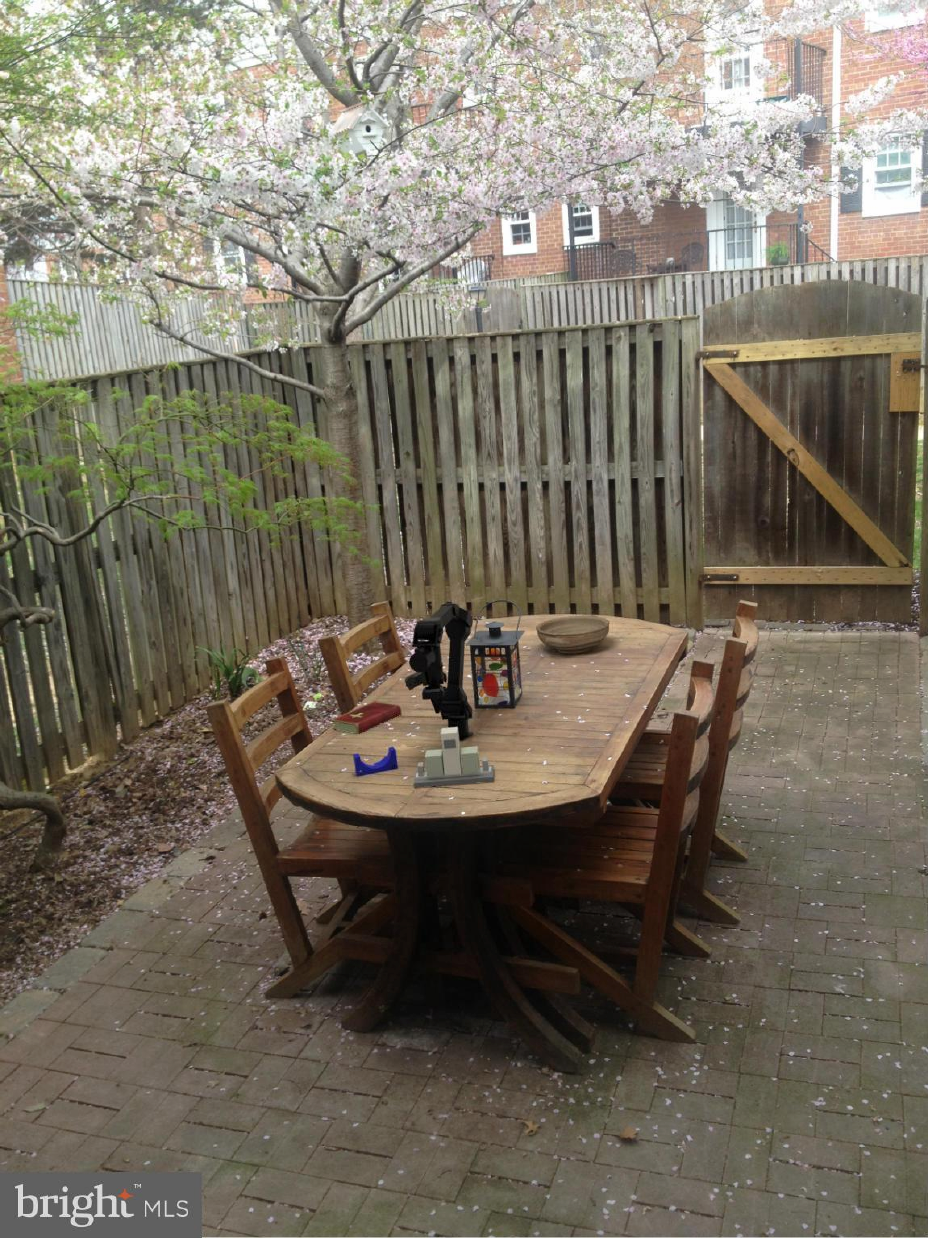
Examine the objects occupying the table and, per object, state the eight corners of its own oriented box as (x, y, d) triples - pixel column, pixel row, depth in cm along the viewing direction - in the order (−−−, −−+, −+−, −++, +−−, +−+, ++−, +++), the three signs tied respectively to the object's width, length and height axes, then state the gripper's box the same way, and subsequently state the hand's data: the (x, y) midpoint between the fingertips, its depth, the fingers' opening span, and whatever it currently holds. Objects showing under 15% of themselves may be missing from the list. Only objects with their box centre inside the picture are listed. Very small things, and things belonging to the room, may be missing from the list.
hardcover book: (401, 716, 359) (400, 704, 358) (358, 736, 343) (356, 723, 342) (376, 712, 366) (374, 700, 365) (332, 731, 351) (330, 719, 350)
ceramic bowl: (564, 635, 442) (562, 611, 439) (627, 638, 426) (626, 614, 424) (519, 659, 412) (517, 634, 409) (586, 664, 396) (584, 638, 394)
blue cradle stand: (394, 764, 314) (392, 745, 313) (397, 769, 310) (395, 749, 309) (354, 772, 311) (352, 752, 310) (357, 777, 307) (354, 757, 306)
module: (446, 768, 299) (441, 728, 297) (462, 767, 299) (457, 726, 297) (445, 775, 294) (440, 734, 292) (461, 774, 294) (456, 733, 291)
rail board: (416, 776, 303) (413, 748, 301) (493, 769, 302) (491, 742, 300) (414, 788, 294) (410, 759, 292) (493, 781, 293) (490, 753, 291)
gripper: (407, 656, 321) (413, 705, 324) (401, 673, 303) (407, 725, 306) (444, 653, 320) (449, 702, 324) (440, 670, 302) (446, 722, 306)
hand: (437, 713), depth 315 cm, fingers closed
